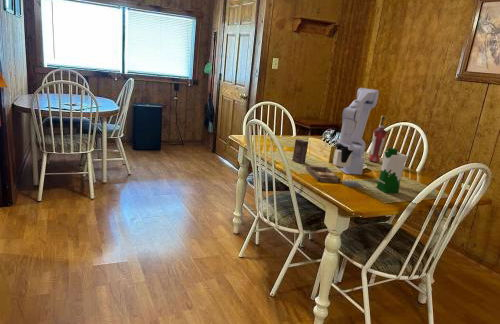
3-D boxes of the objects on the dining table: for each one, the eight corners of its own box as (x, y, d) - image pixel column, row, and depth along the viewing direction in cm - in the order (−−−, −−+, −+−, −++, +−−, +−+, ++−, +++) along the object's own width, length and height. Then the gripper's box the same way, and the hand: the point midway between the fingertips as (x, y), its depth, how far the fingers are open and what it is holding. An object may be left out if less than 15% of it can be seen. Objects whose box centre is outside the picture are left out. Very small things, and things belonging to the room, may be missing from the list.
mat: (356, 182, 176) (356, 181, 176) (363, 187, 170) (363, 186, 169) (341, 181, 175) (341, 180, 174) (347, 186, 168) (347, 185, 168)
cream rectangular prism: (346, 164, 177) (348, 150, 176) (349, 166, 174) (352, 152, 172) (332, 163, 176) (335, 149, 174) (335, 165, 172) (338, 151, 171)
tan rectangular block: (331, 178, 178) (332, 172, 177) (334, 181, 174) (335, 175, 174) (316, 177, 177) (317, 171, 176) (318, 180, 173) (319, 174, 172)
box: (305, 162, 200) (308, 141, 197) (299, 163, 197) (303, 142, 194) (297, 159, 205) (300, 138, 201) (291, 160, 202) (295, 139, 198)
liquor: (367, 158, 227) (376, 114, 219) (379, 160, 225) (389, 116, 217) (367, 161, 220) (377, 115, 212) (380, 163, 218) (390, 117, 211)
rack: (326, 170, 189) (326, 167, 189) (339, 182, 172) (340, 178, 172) (305, 169, 187) (306, 165, 187) (318, 181, 170) (318, 177, 170)
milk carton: (373, 187, 172) (382, 146, 167) (389, 187, 175) (398, 147, 169) (384, 194, 164) (394, 151, 159) (401, 194, 167) (411, 152, 161)
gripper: (333, 129, 177) (328, 156, 181) (345, 136, 163) (339, 165, 167) (346, 130, 178) (341, 157, 182) (359, 137, 164) (354, 166, 168)
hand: (341, 161), depth 174 cm, fingers closed on cream rectangular prism, 4 cm apart
